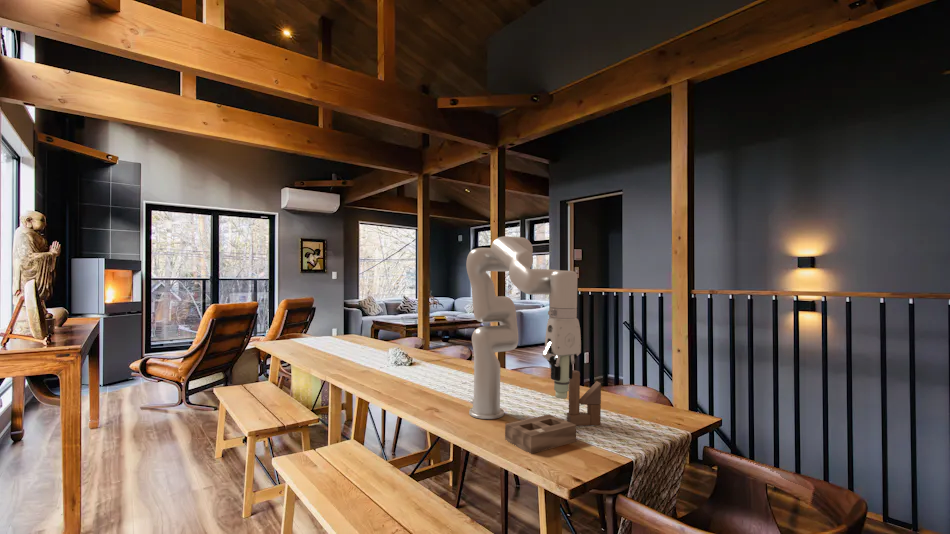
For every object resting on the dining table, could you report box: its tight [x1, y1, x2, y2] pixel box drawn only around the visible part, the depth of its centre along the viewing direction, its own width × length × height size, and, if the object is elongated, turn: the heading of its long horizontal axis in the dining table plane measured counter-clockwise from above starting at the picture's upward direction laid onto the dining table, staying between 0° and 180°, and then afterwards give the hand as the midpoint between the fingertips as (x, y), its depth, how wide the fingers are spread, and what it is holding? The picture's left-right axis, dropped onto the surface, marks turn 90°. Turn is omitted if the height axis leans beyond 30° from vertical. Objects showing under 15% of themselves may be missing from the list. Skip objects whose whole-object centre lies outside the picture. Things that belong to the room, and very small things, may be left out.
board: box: [504, 414, 577, 455], centre depth 136 cm, size 12×18×5 cm, turn 124°
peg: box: [553, 355, 569, 400], centre depth 127 cm, size 4×4×14 cm
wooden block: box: [566, 369, 602, 427], centre depth 153 cm, size 4×11×18 cm, turn 98°
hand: (561, 378), depth 127 cm, fingers closed on peg, 4 cm apart
